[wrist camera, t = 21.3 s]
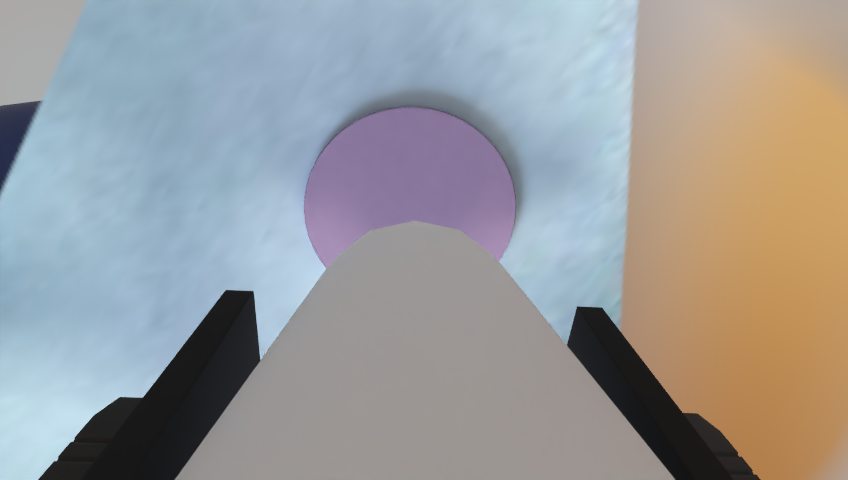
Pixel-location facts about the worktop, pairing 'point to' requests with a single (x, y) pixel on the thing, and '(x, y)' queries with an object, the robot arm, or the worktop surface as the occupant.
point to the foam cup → (420, 380)
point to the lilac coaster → (408, 181)
